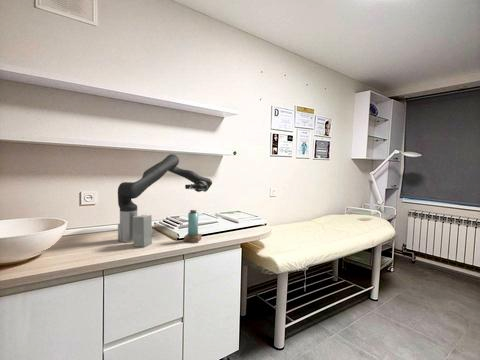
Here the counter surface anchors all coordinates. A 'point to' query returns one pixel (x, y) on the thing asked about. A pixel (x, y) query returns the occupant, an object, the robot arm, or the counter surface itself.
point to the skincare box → (142, 230)
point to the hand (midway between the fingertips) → (193, 187)
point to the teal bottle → (193, 223)
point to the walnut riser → (192, 238)
